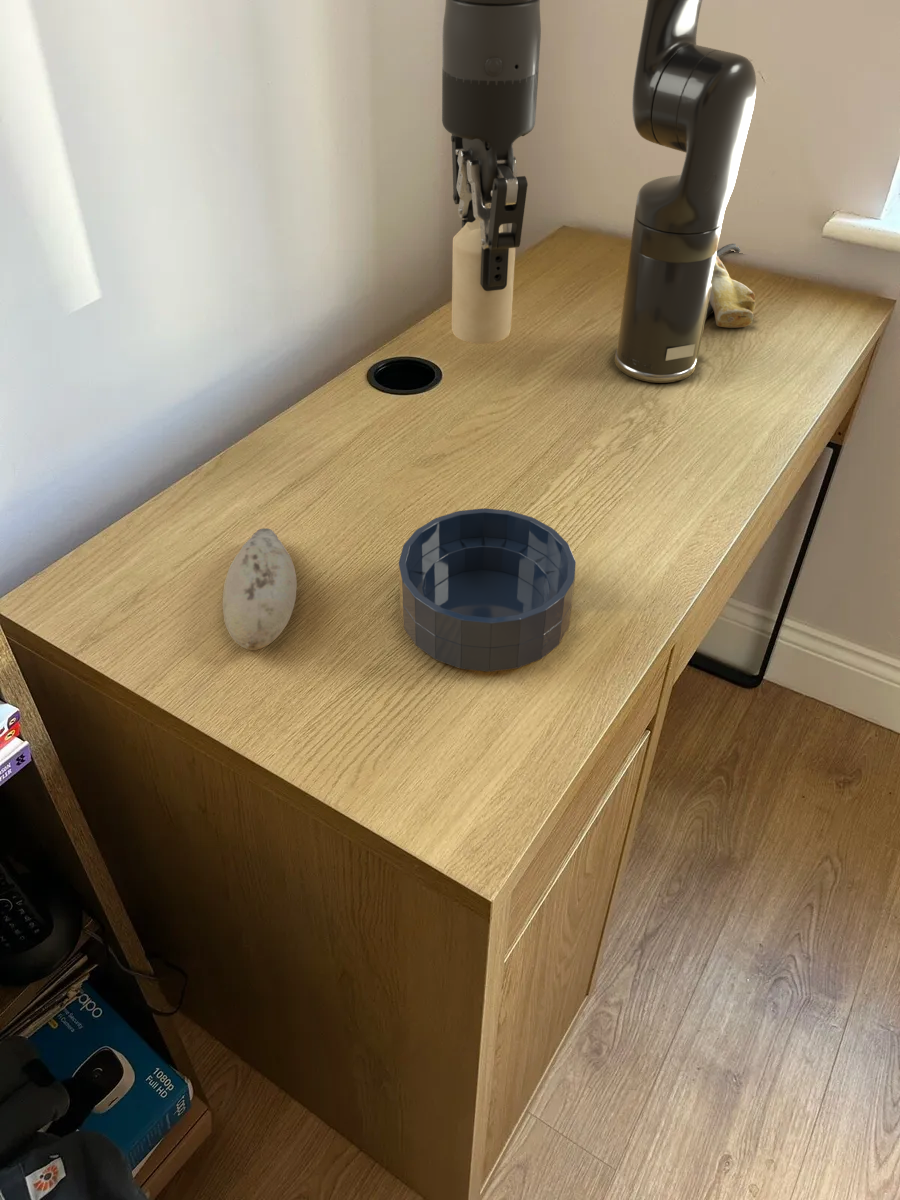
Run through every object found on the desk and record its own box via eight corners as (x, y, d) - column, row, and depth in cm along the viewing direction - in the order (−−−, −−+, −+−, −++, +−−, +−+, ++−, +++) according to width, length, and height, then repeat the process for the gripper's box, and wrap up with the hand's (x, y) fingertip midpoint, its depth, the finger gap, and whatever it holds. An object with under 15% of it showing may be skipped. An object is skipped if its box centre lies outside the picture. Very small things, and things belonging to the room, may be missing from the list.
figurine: (770, 311, 119) (739, 246, 129) (735, 296, 117) (707, 231, 127) (743, 344, 123) (715, 278, 132) (709, 330, 121) (683, 264, 130)
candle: (505, 347, 87) (511, 238, 81) (445, 341, 88) (446, 232, 82) (515, 321, 91) (521, 214, 85) (458, 314, 92) (460, 208, 86)
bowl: (480, 541, 89) (482, 488, 85) (602, 614, 82) (611, 560, 78) (367, 616, 82) (363, 562, 78) (490, 704, 75) (493, 649, 71)
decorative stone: (298, 541, 89) (294, 512, 87) (298, 661, 78) (294, 630, 76) (231, 546, 89) (226, 516, 86) (221, 667, 77) (214, 637, 75)
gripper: (568, 85, 70) (549, 304, 82) (508, 39, 81) (499, 240, 92) (469, 91, 69) (464, 314, 80) (421, 44, 79) (423, 247, 91)
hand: (483, 273), depth 86 cm, fingers closed on candle, 5 cm apart
